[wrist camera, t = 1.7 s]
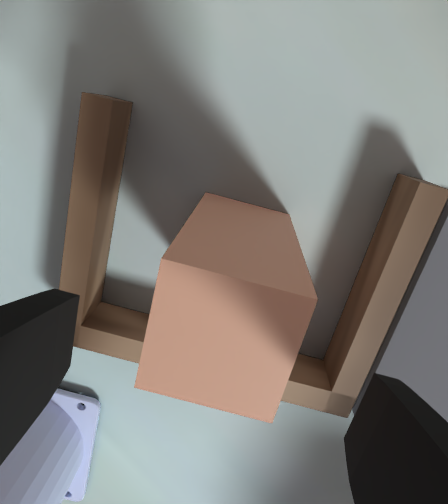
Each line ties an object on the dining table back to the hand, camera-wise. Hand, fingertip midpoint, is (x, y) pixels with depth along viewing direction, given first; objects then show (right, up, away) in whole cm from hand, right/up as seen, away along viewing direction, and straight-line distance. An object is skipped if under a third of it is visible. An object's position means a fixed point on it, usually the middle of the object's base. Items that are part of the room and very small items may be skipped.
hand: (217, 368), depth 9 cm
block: (+1, +3, +9) cm, 10 cm away
